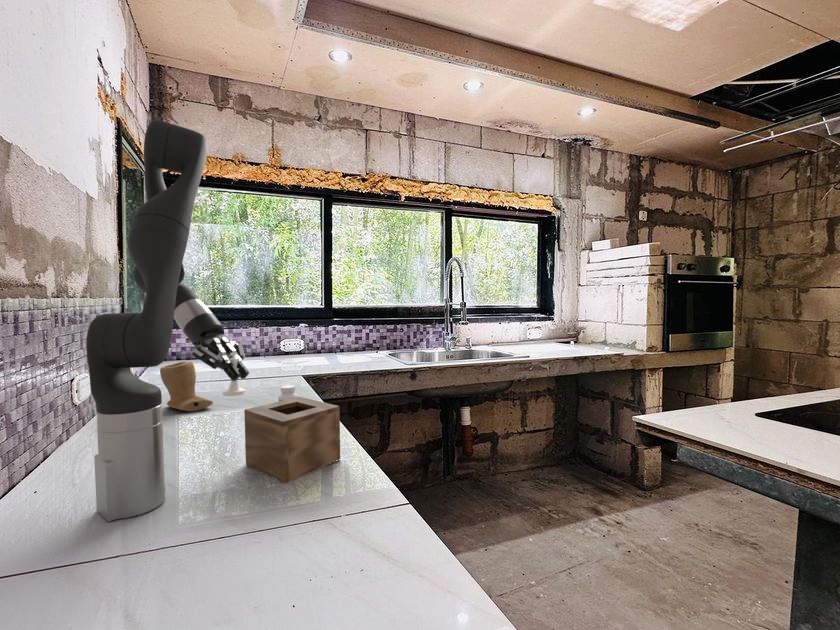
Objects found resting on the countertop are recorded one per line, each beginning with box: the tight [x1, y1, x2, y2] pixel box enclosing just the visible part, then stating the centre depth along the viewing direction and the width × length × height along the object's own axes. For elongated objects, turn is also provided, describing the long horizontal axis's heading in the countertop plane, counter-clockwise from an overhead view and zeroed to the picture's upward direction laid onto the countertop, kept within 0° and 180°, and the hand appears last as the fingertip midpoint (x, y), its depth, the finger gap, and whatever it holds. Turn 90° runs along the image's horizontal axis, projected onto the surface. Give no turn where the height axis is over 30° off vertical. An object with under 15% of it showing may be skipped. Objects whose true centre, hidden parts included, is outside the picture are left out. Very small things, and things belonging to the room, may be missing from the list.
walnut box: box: [243, 396, 341, 484], centre depth 91 cm, size 14×14×12 cm
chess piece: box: [222, 350, 247, 397], centre depth 97 cm, size 5×5×10 cm
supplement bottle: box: [278, 384, 299, 402], centre depth 123 cm, size 5×5×10 cm
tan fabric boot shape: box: [159, 360, 214, 412], centre depth 135 cm, size 15×12×15 cm
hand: (241, 377), depth 97 cm, fingers closed on chess piece
